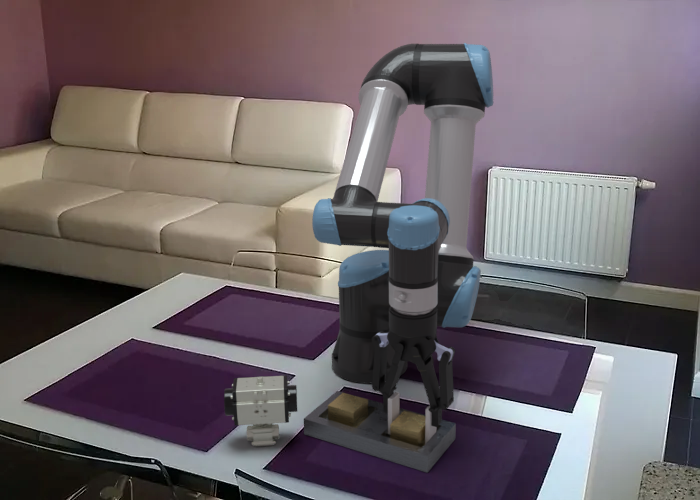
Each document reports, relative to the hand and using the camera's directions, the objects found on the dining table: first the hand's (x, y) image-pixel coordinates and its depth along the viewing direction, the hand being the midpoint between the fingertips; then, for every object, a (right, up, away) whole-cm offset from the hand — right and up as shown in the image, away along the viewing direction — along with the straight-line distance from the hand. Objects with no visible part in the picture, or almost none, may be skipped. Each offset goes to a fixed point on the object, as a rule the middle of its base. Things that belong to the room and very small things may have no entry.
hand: (412, 435), depth 129 cm
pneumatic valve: (-25, -2, +2) cm, 25 cm away
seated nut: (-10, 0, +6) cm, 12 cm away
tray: (-5, -1, +3) cm, 6 cm away
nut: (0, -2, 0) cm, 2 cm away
